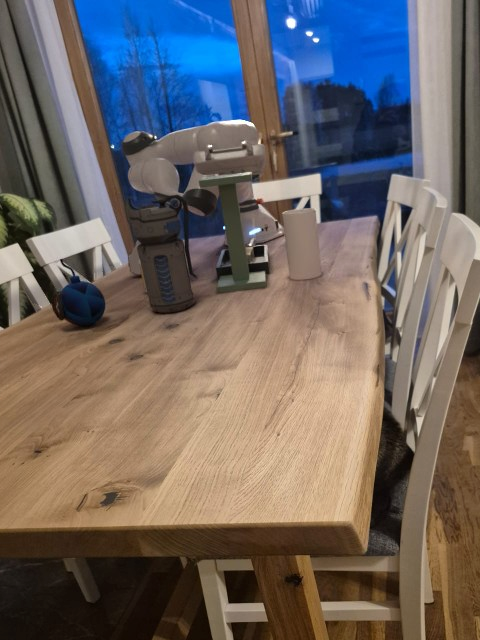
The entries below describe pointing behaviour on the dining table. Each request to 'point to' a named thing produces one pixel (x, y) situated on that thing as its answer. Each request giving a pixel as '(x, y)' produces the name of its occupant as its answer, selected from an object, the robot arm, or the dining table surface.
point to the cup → (302, 243)
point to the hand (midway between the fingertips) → (226, 144)
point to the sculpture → (134, 260)
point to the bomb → (78, 302)
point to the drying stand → (234, 234)
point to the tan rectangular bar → (250, 250)
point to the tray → (259, 264)
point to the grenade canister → (163, 252)
